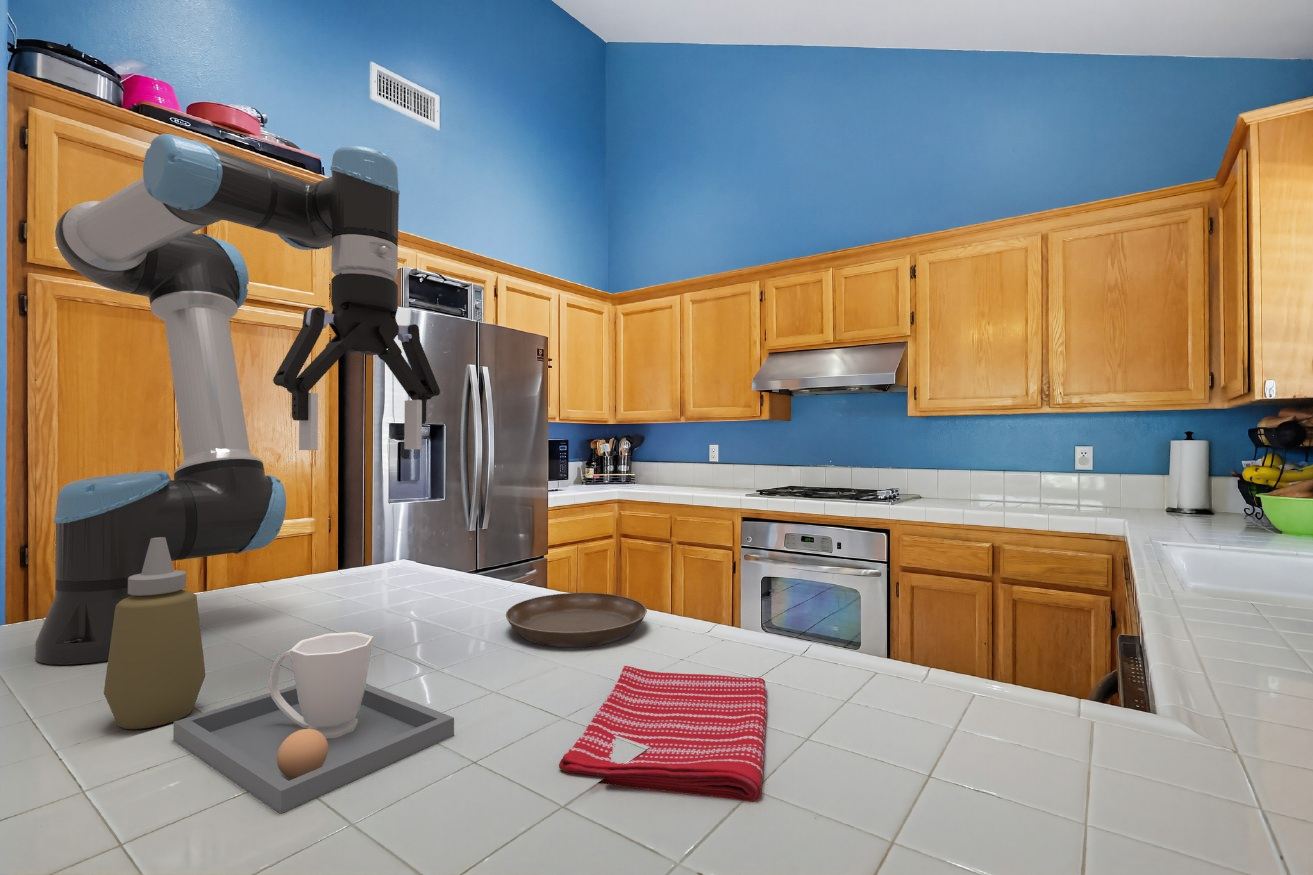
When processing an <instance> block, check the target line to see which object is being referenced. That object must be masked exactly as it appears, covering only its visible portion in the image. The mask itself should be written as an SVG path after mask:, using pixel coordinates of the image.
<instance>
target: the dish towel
mask: <svg viewBox="0 0 1313 875" xmlns="http://www.w3.org/2000/svg"><path fill="white" fill-rule="evenodd" d="M614 685H615V686H614V687H613V688H612V690H611V692H610V693H609V695H608V696H607V698H606V699H605V700H604V701H603V703H602V704H601V705H600V707H599V709H598V710H597V711H596V713H595V715H594V716H593V718H592V719H591V720H590V721H589V723H588V724H587V727H586V729H585V731H584V732H583V734H582V735H580V736H579V737H578V739H577V741H576V742H575V743H574V745H573V746H572V747H571V748H569V749H568V752H566V753H565V754H563V756H562V758H561V760H560V761H559V763H558V768H559V769H560V770H562V771H564V772H566V773H568V774H584V775H586V776H597V777H599V776H600V777H603V778H602V779H601V780H599V781H598V782H597V784H600V785H609V786H617V787H626V788H634V789H642V790H650V791H651V790H652V791H659V792H670V793H675V794H676V793H677V794H685V795H695V796H703V797H704V796H705V797H713V798H720V799H721V798H722V799H729V800H735V801H736V800H737V801H744V802H749V803H750V802H751V803H752V802H754V801H755V800H758V799H759V798H760V797H761V794H762V780H763V778H764V763H765V759H764V758H765V740H766V727H767V715H768V712H767V711H768V710H767V709H768V706H767V703H768V699H767V687H766V680H765V679H764V678H761V677H741V676H732V675H723V674H722V675H721V674H720V675H719V674H716V675H714V674H703V673H702V674H701V673H698V674H696V673H677V672H659V671H651V670H645V669H641V668H637V667H634V666H628V665H623V668H622V671H621V672H620V674H619V677H618V679H617V681H616V683H615V684H614ZM616 737H619V738H623V739H625V740H629V741H632V742H635V743H638V744H641V745H643V746H646V747H648V748H646V749H645V750H644V751H642V752H641V753H639V754H638V755H637V756H635V757H633V758H632V759H631V760H629V761H628V762H626V763H624V762H621V763H620V762H619V763H618V762H616V761H614V760H613V759H612V757H611V755H612V754H613V753H614V751H613V750H615V748H616V743H615V744H614V743H613V742H615V741H616V740H617V738H616Z"/></svg>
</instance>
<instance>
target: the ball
mask: <svg viewBox="0 0 1313 875" xmlns="http://www.w3.org/2000/svg"><path fill="white" fill-rule="evenodd" d="M327 754H328V743H327V740H326V738H325V737H324V735H323V734H322V733H320V732H319V731H317V730H314V729H302V730H299V731H296V732H294V733H292V734H291V735H290V736H288V737H287V738H286V739H285V740H284V741H283V743H282V744H281V746H280V748H279V750H278V754H277V764H278V768H279V770H280V771H281V772H282V773H283V774H284V775H285V776H287V777H289V778H293V779H294V778H297V777H299V776H302V775H304V774H306V773H309V772H311V771H314V770H316V769H318V768H320V767H321V766H322V765H323V763H324V762H325V760H326V757H327Z"/></svg>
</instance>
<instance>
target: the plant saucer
mask: <svg viewBox="0 0 1313 875" xmlns="http://www.w3.org/2000/svg"><path fill="white" fill-rule="evenodd" d="M647 611H648V610H647V606H645V605H644V604H643V603H642V602H640V601H639V600H636V599H634V598H630V597H627V596H624V595H623V596H622V595H617V594H611V593H610V594H609V593H601V592H600V593H599V592H566V593H556V594H549V595H548V594H547V595H541V596H537V597H533V598H529V599H526V600H523V601H520V602H518V603H516V604H514V605H512V606H510V607H509V608H508V609H507V611H506V612H505V618H506V619H507V622H508V623H509V625H510V626H511V628H513V630H514V631H515V632H516V633H517V634H518V635H520V636H521V637H522V638H524V639H525V640H526V641H529V642H531V643H534V644H536V645H537V644H538V645H542V646H548V647H557V648H582V647H583V648H584V647H585V648H586V647H592V646H593V647H594V646H602V645H606V644H610V643H613V642H618V641H619V640H622V639H624V638H625V637H626V638H627V636H629V635H630V634H632V633H633V632H634V631H635V630H636V629H637V628H638V627H639V626H640V624H641V623H642V621H643V620H644V618H645V616H646V615H647V613H648V612H647Z"/></svg>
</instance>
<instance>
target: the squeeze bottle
mask: <svg viewBox="0 0 1313 875" xmlns="http://www.w3.org/2000/svg"><path fill="white" fill-rule="evenodd" d="M186 588H187V572H186V571H185V570H181V569H180V570H178V569H177V570H176V569H174V566H173V561H171V557H170V553H169V550H168V546H167V542H166V538H165V537H157V538H151V540H150V543H149V547H148V551H147V555H146V558H145V562H144V566H143V569H142V573H141V574H136V575H133V576H130V577H129V578H128V594H130V595H132V596H130V597H127V598H125V599H123V600H121V601H120V602H119V603H118V604H116V607H115V614H114V621H113V628H112V636H111V643H110V650H109V658H108V660H107V665H106V671H105V672H106V673H105V680H104V689H103V696H104V697H105V700H106V703H107V704H108V707H109V708H110V710H111V714H112V715H113V717H114V719H115V721H116V724H117V726H118V727H120V728H122V729H126V730H127V729H128V730H137V729H138V730H139V729H149V728H153V727H158V726H163V725H167V724H169V723H172V722H173V723H174V721H178V720H181V719H183V718H185V717H187V716H188V715H189V714H190V713H191V712H192V711H193V710H194V707H195V704H196V701H197V699H198V696H199V693H200V691H201V688H202V685H203V683H204V681H205V677H206V667H205V666H206V665H205V657H204V650H203V649H204V648H203V641H202V640H203V638H202V630H201V622H200V613H199V605H198V598H197V597H198V595H197V594H195V593H194V592H192V591H189V590H185V589H186Z"/></svg>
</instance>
